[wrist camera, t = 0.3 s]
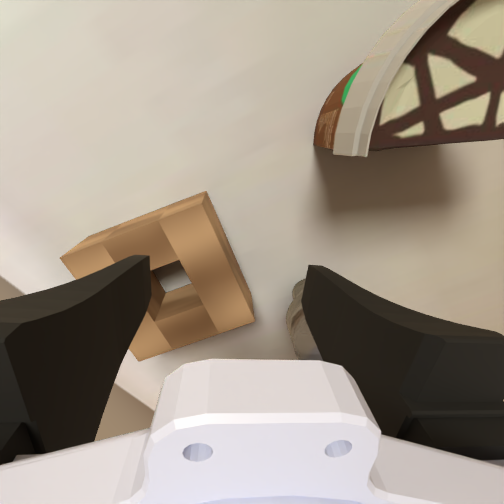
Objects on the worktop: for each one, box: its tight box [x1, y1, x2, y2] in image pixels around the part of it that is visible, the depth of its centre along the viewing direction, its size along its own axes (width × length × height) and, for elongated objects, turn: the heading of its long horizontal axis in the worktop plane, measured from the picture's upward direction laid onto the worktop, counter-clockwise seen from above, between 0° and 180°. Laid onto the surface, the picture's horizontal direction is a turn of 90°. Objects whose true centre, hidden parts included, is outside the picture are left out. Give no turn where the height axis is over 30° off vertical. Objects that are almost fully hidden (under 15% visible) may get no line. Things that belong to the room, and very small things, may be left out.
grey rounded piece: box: [286, 279, 323, 361], centre depth 22 cm, size 6×6×6 cm
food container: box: [313, 0, 504, 157], centre depth 14 cm, size 12×6×10 cm, turn 94°
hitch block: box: [60, 191, 255, 361], centre depth 21 cm, size 10×10×4 cm
